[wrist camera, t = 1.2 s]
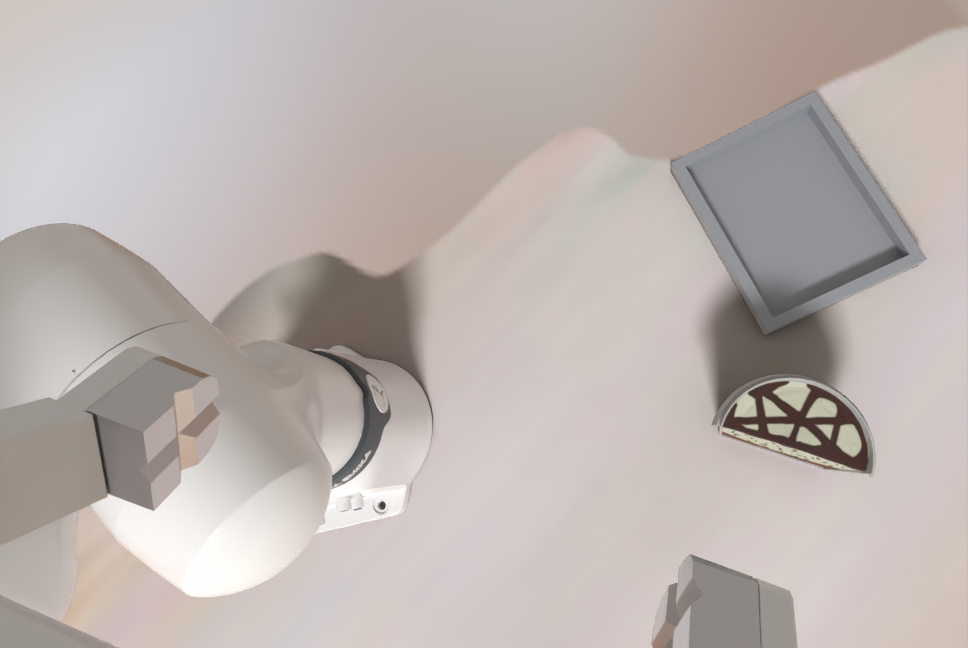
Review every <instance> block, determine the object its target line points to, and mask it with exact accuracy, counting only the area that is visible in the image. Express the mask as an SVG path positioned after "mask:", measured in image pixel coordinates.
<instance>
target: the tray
mask: <svg viewBox="0 0 968 648" xmlns="http://www.w3.org/2000/svg"><path fill="white" fill-rule="evenodd" d="M671 173H672V175H673V176H674V178H675V180H676V182H677V183H678V185H679V187H680V189H681V190H682V192H683V194H684V196H685V197H686V199H687V201H688V203H689V204H690V206H691V208H692V210H693V211H694V213H695V215H696V217H697V218H698V220H699V222H700V224H701V225H702V227H703V229H704V231H705V232H706V234H707V236H708V238H709V239H710V241H711V243H712V245H713V246H714V248H715V250H716V252H717V253H718V255H719V257H720V259H721V260H722V262H723V264H724V266H725V267H726V269H727V271H728V273H729V274H730V276H731V278H732V280H733V281H734V283H735V285H736V287H737V288H738V290H739V292H740V294H741V295H742V297H743V299H744V301H745V302H746V304H747V306H748V308H749V309H750V311H751V313H752V315H753V316H754V318H755V320H756V322H757V323H758V325H759V327H760V329H761V330H762V332H763V334H764V336H765V335H768V334H770V333H772V332H774V331H776V330H779V329H781V328H783V327H785V326H787V325H789V324H792V323H794V322H796V321H798V320H800V319H802V318H805V317H807V316H809V315H811V314H813V313H815V312H818V311H820V310H822V309H824V308H826V307H828V306H831V305H833V304H835V303H837V302H839V301H842V300H844V299H846V298H848V297H850V296H852V295H855V294H857V293H859V292H861V291H863V290H865V289H868V288H870V287H872V286H874V285H876V284H878V283H881V282H883V281H885V280H887V279H889V278H891V277H894V276H896V275H898V274H900V273H902V272H905V271H907V270H909V269H911V268H913V267H915V266H918V265H919V264H921V263H922V262H923V261H925V260H926V259H927V258H926V257H925V255H924V254H923V252H922V251H921V249H920V248H919V246H918V245H917V243H916V242H915V240H914V239H913V237H912V236H911V234H910V233H909V231H908V230H907V228H906V227H905V225H904V224H903V222H902V221H901V219H900V218H899V216H898V215H897V213H896V212H895V210H894V209H893V207H892V206H891V204H890V203H889V201H888V200H887V198H886V197H885V195H884V194H883V192H882V191H881V189H880V188H879V186H878V185H877V183H876V182H875V180H874V179H873V177H872V176H871V174H870V173H869V171H868V170H867V168H866V167H865V165H864V164H863V162H862V161H861V159H860V158H859V156H858V155H857V153H856V152H855V150H854V149H853V147H852V146H851V144H850V143H849V141H848V140H847V138H846V137H845V135H844V134H843V132H842V131H841V129H840V128H839V126H838V125H837V124H836V122H835V121H834V119H833V118H832V116H831V115H830V113H829V112H828V110H827V109H826V107H825V106H824V104H823V103H822V101H821V100H820V98H819V97H818V95H817V94H816V92H815V91H814V92H812V93H810V94H808V95H806V96H804V97H802V98H800V99H798V100H796V101H794V102H792V103H790V104H788V105H786V106H784V107H782V108H780V109H778V110H776V111H774V112H772V113H770V114H768V115H766V116H764V117H762V118H760V119H758V120H756V121H754V122H753V123H750V124H749V125H746V126H744V127H742V128H740V129H738V130H736V131H734V132H732V133H730V134H728V135H726V136H724V137H722V138H720V139H718V140H716V141H714V142H712V143H710V144H708V145H706V146H704V147H702V148H700V149H698V150H696V151H694V152H692V153H690V154H688V155H686V156H684V157H682V158H680V159H678V160H676V161H674V162H672V163H671Z"/></svg>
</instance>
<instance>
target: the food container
mask: <svg viewBox="0 0 968 648" xmlns="http://www.w3.org/2000/svg"><path fill="white" fill-rule="evenodd" d="M712 425H713V426H720V429H719V435H720V436H723V437H726V438H729V439H733V440H736V441H739V442H742V443H745V444H748V445H751V446H754V447H757V448H760V449H763V450H766V451H769V452H772V453H775V454H779V455H782V456H785V457H788V458H791V459H794V460H797V461H800V462H803V463H806V464H809V465H812V466H815V467H818V468H822V469H825V470H833V471H842V472H852V473H861V474H869V476H871V477H872V476H874V470H875V464H876V452H875V446H874V440H873V437H872V434H871V431H870V428H869V426H868V424H867V422H866V420H865V419H864V417H863V415H862V414H861V413H860V411H859V410H858V409H857V407H856V406H855V405H854V404H853V403H852V402H851V401H850V400H849V399H848V398H847V397H846V396H845V395H843V394H842V393H841V392H839V391H838V390H836V389H835V388H833V387H831V386H829V385H827V384H826V383H823V382H821V381H818V380H816V379H813V378H810V377H806V376H801V375H796V374H775V375H768V376H764V377H760V378H757V379H755V380H752V381H750V382H748V383H746V384H744V385H743V386H741V387H739V388H738V389H737V390H735V391H734V392H733V393H732V394H731V395H730V396H729V397H728V398H727V399H726V400H725V401H724V402H723V404H722V405H721V406H720V408H719V410H718V411H717V413H716V415H715V417H714V420H713V422H712Z"/></svg>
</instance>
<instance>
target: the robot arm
mask: <svg viewBox="0 0 968 648" xmlns="http://www.w3.org/2000/svg"><path fill="white" fill-rule="evenodd" d="M431 437H432V415H431V410H430V406H429V403H428V400H427V397H426V395H425V393H424V391H423V389H422V388H421V386H420V385H419V384H418V382H417V381H416V380H415V379H414V378H413V377H412V376H411V375H410V374H409V373H408V372H407V371H405V370H404V369H402V368H401V367H399V366H397V365H395V364H393V363H390V362H387V361H383V360H377V359H370V358H365V357H362V356H361V355H359V354H358V353H356V352H355V351H353V350H352V349H350V348H348V347H345V346H340V345H336V346H333V347H331V348H330V349H329V350H325V349H313V350H304V349H301V348H298V347H295V346H292V345H290V344H287V343H284V342H280V341H275V340H260V341H254V342H251V343H248V344H245V345H243V346H240V347H237V346H236V345H235V344H234V343H232V342H231V341H230V340H229V339H228V338H227V337H226V336H225V335H224V334H223V333H222V332H221V331H220V330H219V329H217V328H216V327H214V326H212V325H211V324H210V323H209V322H208V321H207V320H206V319H205V318H204V317H203V316H202V315H201V314H200V313H199V312H198V311H197V310H196V309H195V308H194V307H193V306H192V305H191V304H190V302H189V301H188V300H187V299H186V298H185V297H184V296H182V294H180V293H179V291H178V290H176V288H175V287H174V286H173V285H172V284H171V283H170V282H169V281H168V280H166V278H165V277H164V276H163V275H162V274H161V273H159V271H158V270H157V269H156V268H154V267H153V266H152V265H151V264H150V263H148V262H147V261H145V260H144V259H142V258H141V257H139V256H137V255H136V254H134V253H133V252H131V251H130V250H128V249H127V248H125V247H123V246H122V245H119V244H118V243H116V242H115V241H113V240H111V239H109V238H108V237H106V236H104V235H102V234H101V233H99V232H97V231H95V230H93V229H91V228H88V227H85V226H81V225H76V224H68V223H59V224H58V223H57V224H47V225H41V226H37V227H33V228H30V229H26V230H24V231H21V232H18V233H16V234H14V235H11V236H9V237H7V238H5V239H4V240H2V241H0V648H118V647H116V646H114V645H111V644H109V643H107V642H105V641H102V640H100V639H98V638H96V637H93V636H91V635H89V634H87V633H84V632H82V631H80V630H78V629H75V628H73V627H71V626H69V625H67V624H64V623H62V622H60V621H61V620H62V618H63V617H64V615H65V613H66V611H67V609H68V607H69V605H70V602H71V600H72V598H73V595H74V592H75V588H76V583H77V574H78V563H77V546H76V525H77V518H78V513H79V510H80V509H82V508H85V507H87V506H90V508H91V509H92V510H93V511H94V512H95V514H96V515H97V516H98V517H99V519H100V520H101V521H102V522H103V524H104V525H105V526H106V527H107V529H108V530H109V531H110V532H111V534H112V535H113V536H114V537H115V539H116V540H117V541H118V542H119V543H120V544H121V545H122V546H124V547H125V548H126V549H127V550H129V551H130V552H131V553H132V554H134V555H135V556H136V557H137V558H139V559H140V560H141V561H142V562H144V563H145V564H146V565H147V566H149V567H150V568H151V569H152V570H154V571H155V572H157V573H158V574H159V575H161V576H162V577H164V578H165V579H166V580H168V581H169V582H170V583H172V584H173V585H175V586H176V587H177V588H179V589H180V590H182V591H183V592H184V593H186V594H187V595H189V596H192V597H215V596H223V595H229V594H233V593H237V592H240V591H243V590H246V589H249V588H252V587H254V586H257V585H259V584H261V583H262V582H264V581H266V580H268V579H270V578H272V577H273V576H275V575H276V574H278V573H279V572H280V571H282V570H283V569H284V568H285V567H287V566H288V565H289V564H290V563H291V562H292V561H294V560H295V559H296V558H297V557H298V555H299V554H300V553H301V552H302V551H303V550H304V549H305V548H306V546H307V545H308V544H309V542H310V541H311V539H312V538H313V536H314V535H315V534H318V533H322V532H326V531H331V530H335V529H340V528H344V527H348V526H353V525H357V524H362V523H366V522H370V521H375V520H379V519H384V518H388V517H392V516H397V515H399V514H401V513H402V512H403V511H404V510H405V508H406V506H407V503H408V499H409V494H410V488H411V483H412V481H413V479H414V477H415V475H416V473H417V472H418V470H419V469H420V467H421V465H422V464H423V462H424V460H425V458H426V455H427V453H428V450H429V447H430V442H431ZM382 501H384V502H385V504H386V507H385V509H384V510H383V509H382V508H381V507H380V504H381V502H382ZM652 646H653V648H798V646H797V635H796V625H795V614H794V604H793V597H792V595H791V593H790V591H789V590H786V589H783V588H781V587H778V586H775V585H772V584H770V583H767V582H764V581H762V580H759V579H756V578H755V579H754V578H753V577H752V576H749V575H746V574H743V573H740V572H738V571H735V570H732V569H729V568H727V567H724V566H721V565H718V564H716V563H713V562H710V561H707V560H705V559H702V558H699V557H696V556H694V555H691V554H690V555H689V556H687V557H686V558H685V559H684V561H683V563H682V564H681V566H680V568H679V574H678V583H675V584H672V585H669V586H668V588H667V590H666V592H665V594H664V596H663V598H662V600H661V603H660V605H659V608H658V611H657V614H656V618H655V623H654V628H653V636H652Z"/></svg>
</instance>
